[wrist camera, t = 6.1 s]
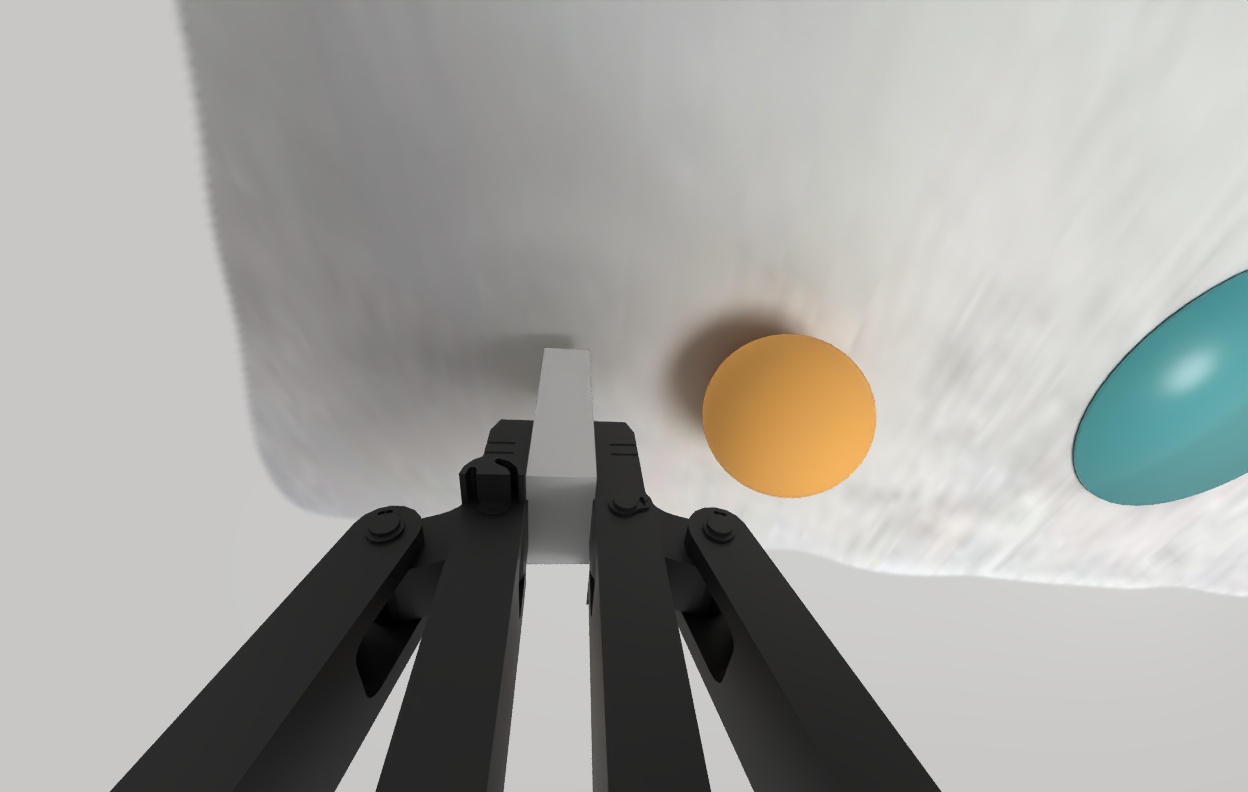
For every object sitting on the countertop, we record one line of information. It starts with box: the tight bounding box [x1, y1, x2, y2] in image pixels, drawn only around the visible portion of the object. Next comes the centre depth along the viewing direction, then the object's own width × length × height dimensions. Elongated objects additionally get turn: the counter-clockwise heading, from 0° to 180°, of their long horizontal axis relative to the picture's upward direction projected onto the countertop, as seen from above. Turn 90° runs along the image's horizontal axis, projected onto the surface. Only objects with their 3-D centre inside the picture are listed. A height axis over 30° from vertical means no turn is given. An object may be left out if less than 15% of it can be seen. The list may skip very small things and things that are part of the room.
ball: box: [702, 334, 876, 498], centre depth 16 cm, size 6×6×6 cm
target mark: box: [1073, 271, 1248, 506], centre depth 21 cm, size 13×13×1 cm
